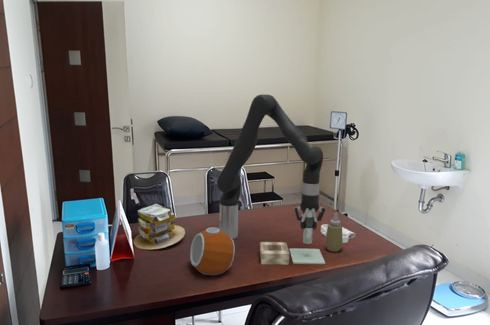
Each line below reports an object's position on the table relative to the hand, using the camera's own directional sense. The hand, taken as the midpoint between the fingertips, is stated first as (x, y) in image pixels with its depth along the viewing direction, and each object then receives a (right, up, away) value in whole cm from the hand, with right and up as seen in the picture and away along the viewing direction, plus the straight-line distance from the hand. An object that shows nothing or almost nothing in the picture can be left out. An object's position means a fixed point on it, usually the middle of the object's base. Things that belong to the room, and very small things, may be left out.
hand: (308, 228), depth 176 cm
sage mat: (0, -13, +3) cm, 13 cm away
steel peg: (0, -6, +1) cm, 6 cm away
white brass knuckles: (+19, -9, +28) cm, 35 cm away
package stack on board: (-70, -8, +17) cm, 73 cm away
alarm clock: (-42, -15, -9) cm, 46 cm away
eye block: (-15, -13, +1) cm, 20 cm away
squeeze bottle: (+14, -12, +11) cm, 21 cm away
